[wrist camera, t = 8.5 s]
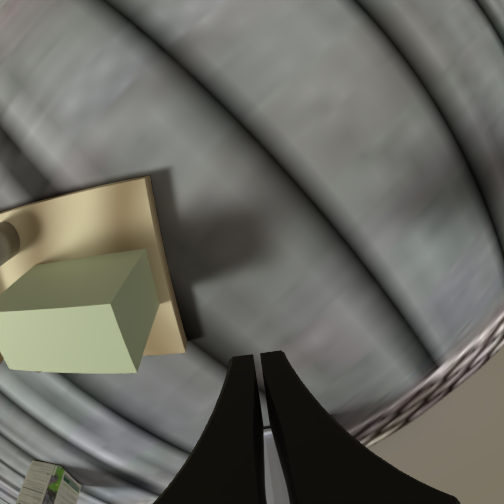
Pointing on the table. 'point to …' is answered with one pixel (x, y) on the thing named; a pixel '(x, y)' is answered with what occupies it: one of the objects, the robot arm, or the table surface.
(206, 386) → the table surface
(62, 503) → the printed cardboard box
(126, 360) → the block
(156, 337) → the board
